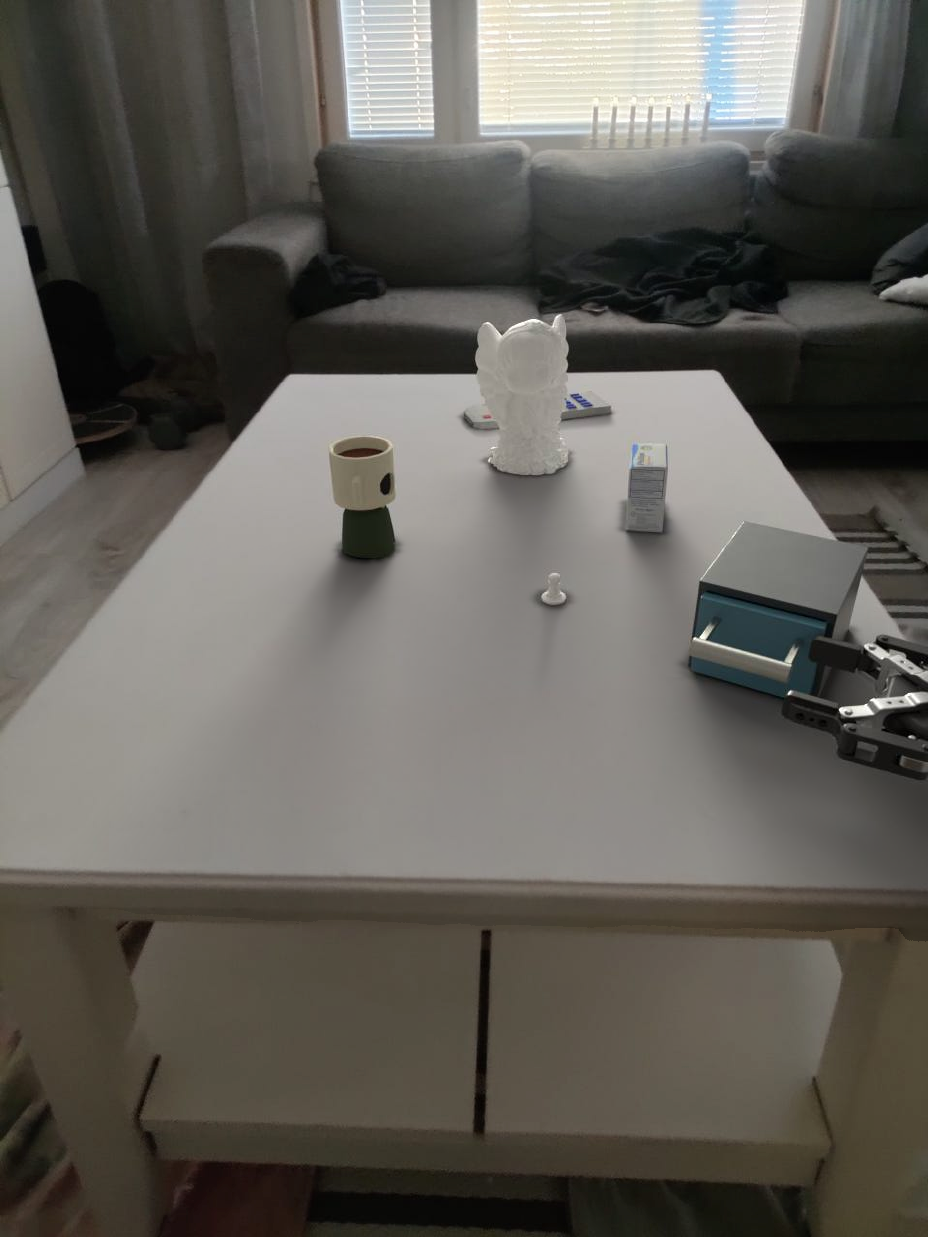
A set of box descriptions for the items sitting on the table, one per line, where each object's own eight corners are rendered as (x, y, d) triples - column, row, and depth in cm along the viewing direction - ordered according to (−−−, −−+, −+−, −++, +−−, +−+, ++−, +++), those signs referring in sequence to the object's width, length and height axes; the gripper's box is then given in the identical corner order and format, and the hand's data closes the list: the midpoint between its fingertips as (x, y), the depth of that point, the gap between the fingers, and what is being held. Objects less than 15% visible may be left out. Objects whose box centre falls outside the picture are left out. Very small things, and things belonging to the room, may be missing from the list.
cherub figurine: (479, 480, 121) (476, 331, 111) (476, 446, 132) (474, 307, 121) (574, 477, 121) (581, 328, 111) (564, 444, 132) (570, 305, 121)
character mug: (394, 574, 99) (387, 465, 92) (331, 574, 100) (319, 466, 93) (404, 530, 109) (397, 429, 102) (346, 530, 109) (336, 429, 102)
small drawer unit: (815, 707, 77) (837, 614, 72) (687, 670, 83) (699, 580, 78) (847, 633, 87) (868, 547, 82) (730, 604, 92) (744, 520, 87)
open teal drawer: (790, 743, 72) (807, 664, 68) (667, 704, 77) (677, 628, 73) (837, 635, 85) (855, 564, 81) (730, 608, 90) (742, 539, 86)
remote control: (610, 417, 142) (611, 404, 140) (475, 433, 136) (475, 419, 135) (590, 402, 148) (591, 389, 147) (461, 417, 143) (461, 403, 142)
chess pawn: (549, 611, 92) (550, 582, 90) (536, 600, 94) (537, 571, 92) (570, 605, 93) (571, 576, 91) (557, 594, 95) (559, 566, 93)
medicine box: (662, 536, 106) (669, 468, 101) (624, 534, 106) (629, 466, 102) (661, 508, 112) (668, 443, 108) (625, 506, 113) (631, 441, 108)
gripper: (1055, 646, 65) (826, 592, 73) (1048, 758, 55) (782, 682, 62) (1023, 725, 69) (809, 667, 77) (1010, 843, 59) (765, 763, 66)
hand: (797, 674), depth 69 cm, fingers open, 8 cm apart
